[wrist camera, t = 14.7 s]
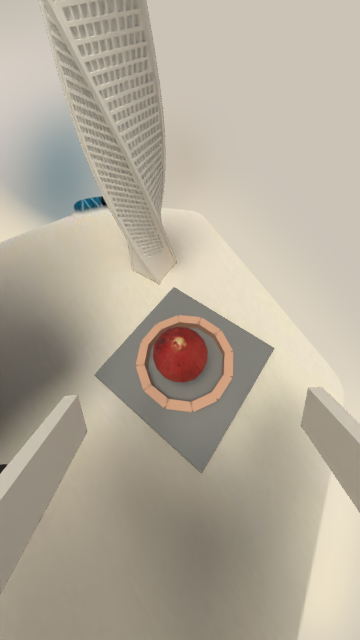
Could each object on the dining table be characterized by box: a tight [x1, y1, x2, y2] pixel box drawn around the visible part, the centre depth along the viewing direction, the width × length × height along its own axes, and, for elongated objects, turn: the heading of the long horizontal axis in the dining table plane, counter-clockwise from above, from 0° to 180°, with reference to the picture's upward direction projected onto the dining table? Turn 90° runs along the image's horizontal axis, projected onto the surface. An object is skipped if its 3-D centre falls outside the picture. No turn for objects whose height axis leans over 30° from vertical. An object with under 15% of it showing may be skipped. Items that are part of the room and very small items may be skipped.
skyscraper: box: [38, 0, 177, 284], centre depth 20 cm, size 8×8×28 cm
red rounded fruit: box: [153, 327, 208, 383], centre depth 21 cm, size 6×6×8 cm
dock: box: [95, 288, 274, 473], centre depth 24 cm, size 16×16×3 cm
